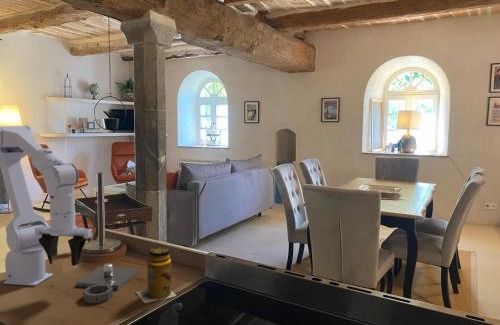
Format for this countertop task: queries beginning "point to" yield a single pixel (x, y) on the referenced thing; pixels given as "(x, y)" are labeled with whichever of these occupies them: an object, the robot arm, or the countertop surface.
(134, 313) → the countertop surface
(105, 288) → the grey octagonal ring
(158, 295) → the condiment
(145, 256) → the countertop surface
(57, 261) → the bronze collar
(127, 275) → the piston stand
